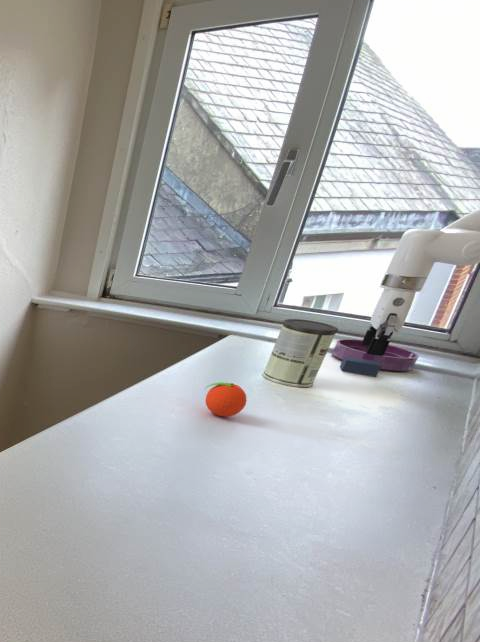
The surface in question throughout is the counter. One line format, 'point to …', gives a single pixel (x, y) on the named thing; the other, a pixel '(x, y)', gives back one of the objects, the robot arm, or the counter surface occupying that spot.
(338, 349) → the bowl
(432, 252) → the robot arm
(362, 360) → the eraser
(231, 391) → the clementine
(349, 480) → the counter surface
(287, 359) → the coffee can
